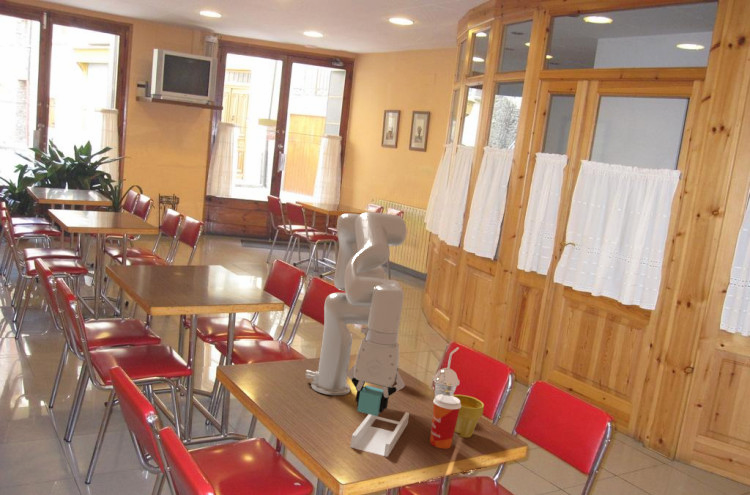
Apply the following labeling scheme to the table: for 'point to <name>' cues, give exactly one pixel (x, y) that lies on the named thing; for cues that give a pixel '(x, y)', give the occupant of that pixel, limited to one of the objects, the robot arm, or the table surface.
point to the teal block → (370, 400)
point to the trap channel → (377, 435)
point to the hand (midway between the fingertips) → (370, 407)
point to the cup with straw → (446, 379)
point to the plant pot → (468, 415)
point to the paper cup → (444, 420)
